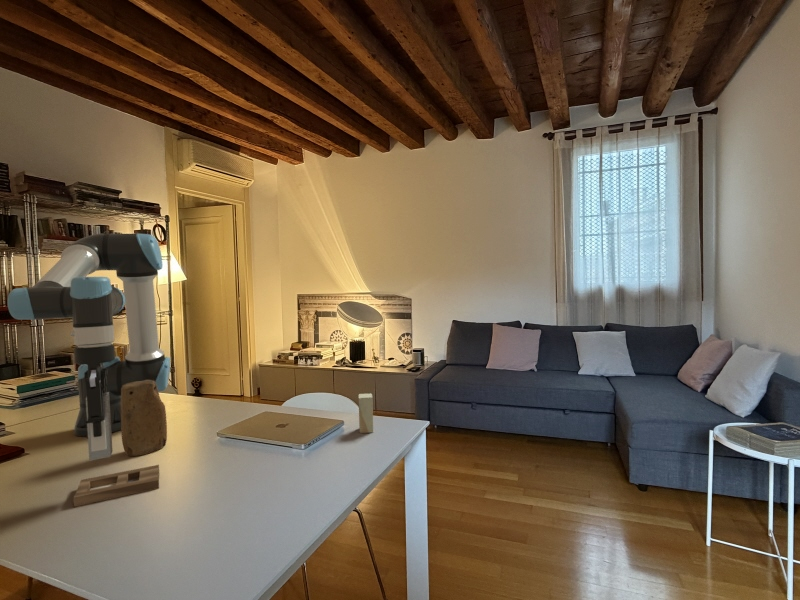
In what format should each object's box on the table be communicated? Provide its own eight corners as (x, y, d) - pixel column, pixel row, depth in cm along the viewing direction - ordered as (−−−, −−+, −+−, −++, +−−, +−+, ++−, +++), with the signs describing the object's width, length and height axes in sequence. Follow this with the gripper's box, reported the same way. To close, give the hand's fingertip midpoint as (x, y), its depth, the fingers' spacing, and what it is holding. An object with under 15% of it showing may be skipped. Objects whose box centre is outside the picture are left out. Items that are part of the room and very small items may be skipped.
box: (359, 427, 140) (358, 393, 140) (373, 427, 141) (372, 392, 140) (359, 433, 135) (358, 397, 134) (373, 432, 135) (372, 397, 135)
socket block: (81, 488, 103) (81, 479, 103) (159, 472, 111) (158, 464, 111) (74, 506, 95) (73, 497, 94) (158, 488, 102) (158, 479, 102)
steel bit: (91, 454, 101) (88, 394, 101) (112, 451, 103) (109, 392, 103) (89, 460, 98) (85, 398, 97) (110, 456, 100) (107, 395, 99)
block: (125, 459, 120) (121, 387, 119) (121, 452, 125) (117, 382, 125) (169, 449, 127) (166, 380, 126) (163, 442, 132) (160, 376, 132)
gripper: (80, 342, 105) (86, 438, 106) (66, 351, 90) (73, 463, 91) (117, 339, 109) (122, 432, 110) (110, 347, 94) (116, 455, 95)
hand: (100, 446), depth 101 cm, fingers closed on steel bit, 4 cm apart
